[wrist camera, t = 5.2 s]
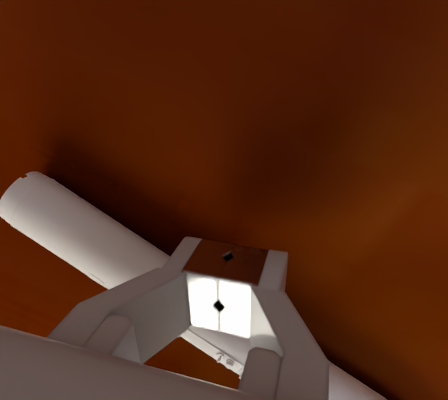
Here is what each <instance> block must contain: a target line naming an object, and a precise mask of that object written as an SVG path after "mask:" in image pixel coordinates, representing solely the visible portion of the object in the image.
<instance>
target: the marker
mask: <svg viewBox="0 0 448 400" xmlns="http://www.w3.org/2000/svg"><path fill="white" fill-rule="evenodd" d="M25 175H27V177H25V178H21V177H20V178H19V179H17V180H16V181H15V182H14V183H13V184H12V185H11V186H10V187H9V188H8V189H7V190H6V192H5V193H4V195H3V196H2V198H1V200H0V217H1V218H3V219H5V221H6V222H8V223H9V224H11V226H12V227H14V228H16V229H17V230H19V231H20V232H22V233H23V234H25V235H26V236H28V237H29V238H31V239H33V240H34V241H36V242H37V243H39V244H40V245H42V246H43V247H45V248H46V249H48V250H49V251H51V252H52V253H54V254H55V255H57V256H58V257H60V258H61V259H63V260H65V261H66V262H68V263H69V264H71V265H72V266H74V267H75V268H77V269H78V270H80V271H81V272H83V273H84V274H86V275H87V276H89V278H91V279H92V280H94V281H96V282H97V283H99V284H100V285H102V286H103V287H106V288H107V289H111V288H113V287H115V286H118V285H120V284H122V283H124V282H127V281H129V280H131V279H133V278H135V277H138V276H140V275H142V274H144V273H147V272H149V271H151V270H153V269H155V268H161V269H162V268H163V266H164V265H165V263H166V262H167V261H168V259H169V258H170V256H169V255H167V254H166V253H164V252H163V251H161V250H160V249H158V248H157V247H155V246H154V245H152V244H150V243H149V242H147V241H146V240H144V239H143V238H141V237H140V236H138V235H137V234H135V233H134V232H132V231H131V230H129V229H128V228H126V227H125V226H123V225H122V224H120V223H119V222H117V221H116V220H114V219H113V218H111V217H109V216H108V215H106V214H105V213H103V212H102V211H100V210H99V209H97V208H96V207H94V206H93V205H91V204H90V203H88V202H87V201H85V200H84V199H82V198H81V197H79V196H78V195H76V194H75V193H73V192H72V191H70V190H68V189H67V188H65V187H64V186H62V185H61V184H59V183H58V182H56V181H55V180H54V179H52V178H49V177H48V176H46V175H43V174H42V173H40V172H37V171H33V172H29V173H27V174H25ZM179 336H180V337H182V338H184V339H185V340H187V341H188V342H190V343H191V344H193V345H194V346H196V347H197V348H199V349H200V350H202V351H203V352H205V353H206V354H208V355H209V356H211V357H212V358H214V359H216V360H217V363H218V362H220V363H222V364H223V365H225V367H226V368H227V369H231V370H232V371H234V372H235V373H237V374H238V375H240V376H239V379H240V380H241V376H242V373H243V369H244V366H245V362H246V359H247V356H248V352H249V350H251V349H252V346H251V343H250V339H246V338H243V337H239V336H235V335H231V334H227V333H223V332H219V331H214V330H209V329H204V328H199V327H194V326H190V328H189V329H187V330H186V331H185V332H183V333H182V334H181V335H179ZM179 336H178V337H179ZM329 400H387V399H386V398H384V397H383V396H382V395H380V394H379V393H377V392H375V391H374V390H372V389H371V388H369V387H368V386H366V385H365V384H363V383H362V382H360V381H359V380H357V379H356V378H354V377H352V376H351V375H349V374H348V373H346V372H345V371H343V370H342V369H340V368H339V367H337V366H336V365H334V364H333V363H331V362H330V361H329Z"/></svg>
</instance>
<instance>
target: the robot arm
mask: <svg viewBox="0 0 448 400" xmlns="http://www.w3.org/2000/svg"><path fill="white" fill-rule="evenodd" d="M287 264H288V253H287V252H285V251H277V250H266V249H259V248H252V247H245V246H239V245H235V244H229V243H223V242H218V241H212V240H207V239H201V238H195V237H188V236H187V237H185V238H184V239H183V240H182V241H181V243H180V244H179V245H178V247H177V248H176V250H175V251H174V252H173V254H172V255H171V257H170V258H169V259H168V261H167V262H166V263H165V265H164V266H163V268H162V269H161V268H155V269H153V270H151V271H149V272H147V273H144V274H142V275H140V276H138V277H135V278H133V279H131V280H129V281H127V282H124V283H122V284H120V285H118V286H115V287H113V288H111V289H109V290H107V291H104V292H102V293H100V294H98V295H95V296H93V297H91V298H89V299H87V300H84V301H82V302H80V303H78V304H77V305H76V306H75V307H74V308H73V309H72V310H71V312H70V313H69V314H68V315H67V316H66V317H65V318H64V319H63V320H62V321H61V322H60V323H59V324H58V325H57V327H56V328H55V329H54V330H53V331H52V332H51V333H50V334H49V335H48V336H47V337H46V338H45V337H42V336H38V335H34V334H31V333H27V332H23V331H20V330H16V329H12V328H9V327H5V326H1V325H0V400H329V361H328V360H327V358H326V356H325V355H324V353H323V352H322V350H321V348H320V347H319V345H318V344H317V342H316V340H315V339H314V337H313V336H312V334H311V332H310V331H309V329H308V328H307V326H306V324H305V323H304V321H303V320H302V318H301V316H300V315H299V313H298V312H297V310H296V308H295V307H294V305H293V304H292V302H291V300H290V299H289V297H288V296H287V294H286V292H285V286H286V275H287ZM190 326H194V327H199V328H204V329H209V330H214V331H219V332H223V333H227V334H231V335H235V336H239V337H243V338H246V339H250V343H251V346H252V349H251V350H249V352H248V356H247V359H246V362H245V366H244V369H243V373H242V376H241V380H240V383H239V386H238V390H236V389H232V388H229V387H225V386H221V385H218V384H214V383H210V382H207V381H203V380H199V379H196V378H192V377H188V376H185V375H181V374H177V373H174V372H170V371H166V370H163V369H159V368H155V367H152V366H148V365H144V364H143V363H144V362H146V361H147V360H148V359H149V358H151V357H152V356H153V355H155V354H156V353H157V352H159V351H160V350H161V349H163V348H164V347H165V346H166V345H168V344H169V343H170V342H172V341H173V340H174V339H176V338H177V337H178V336H179V335H181V334H182V333H183V332H185V331H186V330H187V329H189V328H190Z"/></svg>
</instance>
